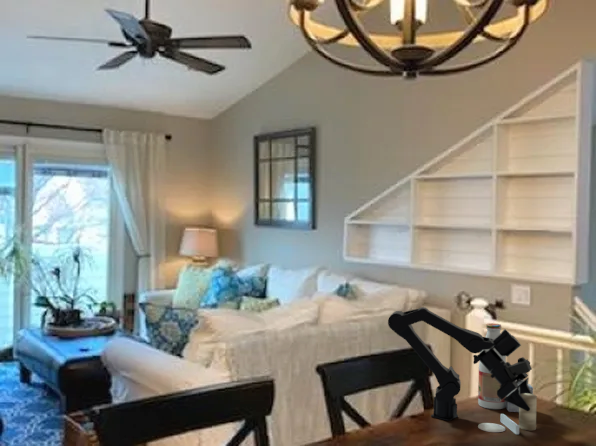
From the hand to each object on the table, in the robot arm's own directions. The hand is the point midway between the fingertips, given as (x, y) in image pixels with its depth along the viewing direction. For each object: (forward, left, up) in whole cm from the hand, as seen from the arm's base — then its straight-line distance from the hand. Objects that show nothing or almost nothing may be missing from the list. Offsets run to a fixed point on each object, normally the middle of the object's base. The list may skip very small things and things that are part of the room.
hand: (532, 406), depth 205 cm
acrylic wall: (-5, -4, -7) cm, 10 cm away
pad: (-9, -8, -7) cm, 14 cm away
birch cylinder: (-1, 0, -7) cm, 7 cm away
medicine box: (-10, +16, -7) cm, 20 cm away
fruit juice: (-19, +15, -7) cm, 25 cm away
